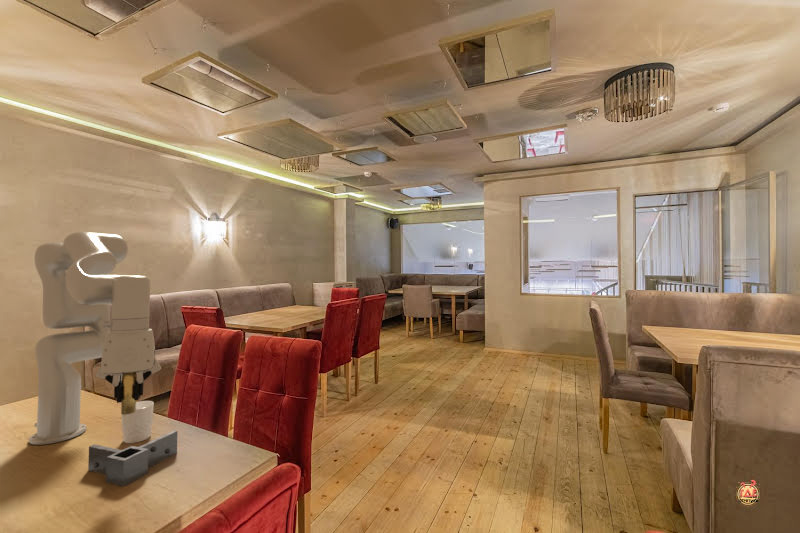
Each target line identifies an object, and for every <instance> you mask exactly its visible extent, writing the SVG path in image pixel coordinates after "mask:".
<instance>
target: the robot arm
mask: <svg viewBox="0 0 800 533" xmlns="http://www.w3.org/2000/svg"><path fill="white" fill-rule="evenodd" d="M128 252H129V247H128V243H127V241H126V240H125V238H123V237H122V236H121V235H118V234H112V233H104V232H103V233H101V232H93V231H92V232H91V231H78V232H73V233H70V234H68V235H67V236H65V238H64V240H63V242H48V243H42V244H41V245H39V246H37V248H36V250H35V253H34V265H35V269H36V271H37V274H38V276H39V278H40V280H41V283H42V321H43V325H44V326H45V327H46V328H48V329H50V330H51V329H52V330H63V329H73V328H74V329H76V328H87V327H88V328H89V330H81V331H70V332H62V333H61V332H60V333H54V334H50V335H46V336H43V337H42V338H40V339H39V340H38V341H37V342H36V344H35V348H34V350H35V351H34V352H35V358H36V363H37V370H38V386H37V387H38V388H37V389H38V390H37V417H36V418H37V419H36V423H35V424H34V425H33V426H34V428H36V433H34V434H32V435H31V436H30V437H29V439H28V442H29V444H30V445H34V446H35V445H37V446H41V445H49V444H54V443H60V442H65V441H66V440H71V439H72V438H75V437H78V436H80V435H81V434H83V433H85V431H87V425H86V424H84V423H80V422H81V400H82V399H81V396H82V394H81V393H82V375H81V373H80V372H79V370H77V369H76V368H75V367H74V366H72V364H74V363H77V362H84V361H89V360H95V359H100V358H101V363H100V366H99V368H98V369H97V371H96V373H95V375H94V376H95V377H96V378H98V379H102V380H106V381H107V382H108V383H110V384H111V385H112V387H114V390H113V392H114V394H113V399H114V400H116V403H117V404H119V403H121V402H122V373H131V372H137V374H136V384H135V391H134V400H136V401H139V399H140V398H141V396H143V394H144V381H146V380H147V379H148V378H149V377H150V376H151V375H154V374H155V373H157V372H159V371H160V370H161V369H162V366H161V364H160V363H159V361H158V359H157V358H156V344H155V337H154V332H153V329H152V328H150V314H151V313H150V308H151V307H150V305H151V303H150V301H151V281H150V278H149V277H148V276H146V275H134V274H133V275H132V274H130V275H129V274H111V273H112V272H113V271H114V270H115V268H116V266H117V265H118V264H120V263H121V262H123V261H124V259H125V258H127V256H128ZM109 305H111V308H110V306H109Z"/></svg>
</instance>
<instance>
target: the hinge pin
mask: <svg viewBox="0 0 800 533" xmlns="http://www.w3.org/2000/svg"><path fill="white" fill-rule="evenodd" d="M121 381H122V401H121V402H120V403H121V406H120V407H121V408H120V413H121V415H122V414H123V415H125V414H131V413H134V412H135V411H136V402H137V400H134V391H135V384H136V381H137V372H131V373H122V380H121Z"/></svg>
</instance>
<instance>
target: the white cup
mask: <svg viewBox="0 0 800 533" xmlns="http://www.w3.org/2000/svg"><path fill="white" fill-rule="evenodd" d="M154 406H155V403H154V401H153V400H140V401H136V411H135V412H134V413H131V414H125V415H123V414H121V429H122V438H123V439H122V440H123V443H125V444H135V443H139V442H142V441H145V440H148V439H149V438H150V437H151V435H152V426H153V418H154V408H155V407H154Z"/></svg>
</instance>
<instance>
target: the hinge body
mask: <svg viewBox="0 0 800 533" xmlns="http://www.w3.org/2000/svg"><path fill="white" fill-rule="evenodd" d="M177 453H178V430H172V431H171V432H168V433H166V434H164V435H162V436H159V437H157V438H155V439H152V440H151V441H148V442H147V443H144V444H142V445H139V446H134V445H130V446H128V447H126V448H124V449H118V448H113V447H109V446H104V445H99V444H95V443H94V444H93V445H89V446H88V468H87V469H88V471H89V472H94V473H98V474H101V475H105V483H107V484H111V485H114V486H119V487H125V486H127V485H129V484H132V483H133V482H134V481H136V480H139V479H140V478H143V476H146V475H148V474H149V472H148V471H149V468H151V467H153V466H155V465H156V464H159V463H161V462H162V461H164V460H166V459H168V458H170V457H172V456H174V455H176V454H177Z"/></svg>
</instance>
